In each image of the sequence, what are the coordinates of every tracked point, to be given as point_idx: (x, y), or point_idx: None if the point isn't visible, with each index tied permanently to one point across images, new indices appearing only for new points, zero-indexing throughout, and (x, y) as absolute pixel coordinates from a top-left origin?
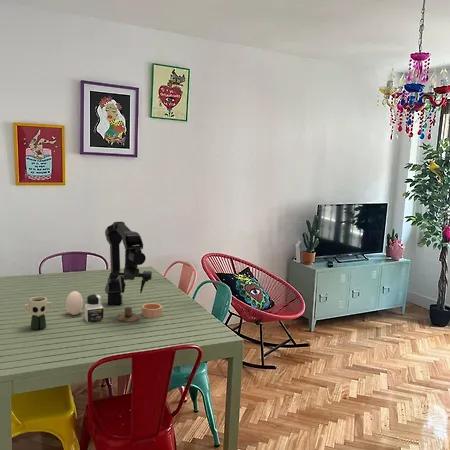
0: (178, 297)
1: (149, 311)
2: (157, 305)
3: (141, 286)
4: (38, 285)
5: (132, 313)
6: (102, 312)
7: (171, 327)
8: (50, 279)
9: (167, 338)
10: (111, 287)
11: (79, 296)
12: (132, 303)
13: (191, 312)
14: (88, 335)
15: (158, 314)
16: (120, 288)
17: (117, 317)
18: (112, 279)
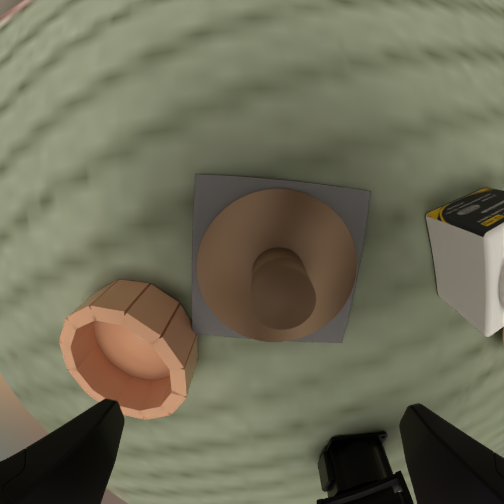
0: (111, 478)
1: (119, 304)
2: (102, 391)
3: (39, 468)
4: None
5: (252, 332)
6: (468, 224)
7: (25, 157)
8: None
9: (53, 23)
10: (401, 501)
11: None
12: (270, 464)
13: (10, 352)
14: (449, 37)
15: (83, 302)
16: (450, 445)
17: (354, 250)
18: None
